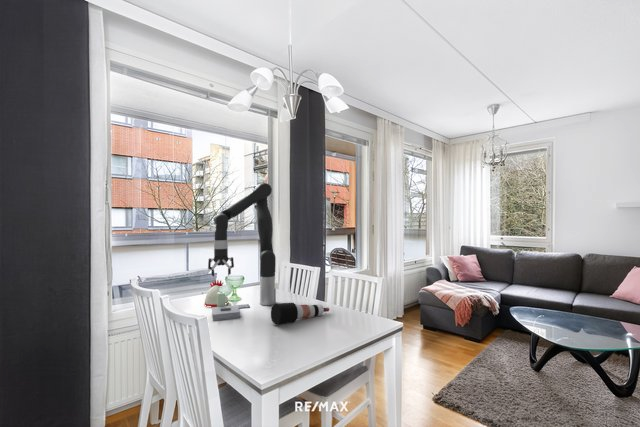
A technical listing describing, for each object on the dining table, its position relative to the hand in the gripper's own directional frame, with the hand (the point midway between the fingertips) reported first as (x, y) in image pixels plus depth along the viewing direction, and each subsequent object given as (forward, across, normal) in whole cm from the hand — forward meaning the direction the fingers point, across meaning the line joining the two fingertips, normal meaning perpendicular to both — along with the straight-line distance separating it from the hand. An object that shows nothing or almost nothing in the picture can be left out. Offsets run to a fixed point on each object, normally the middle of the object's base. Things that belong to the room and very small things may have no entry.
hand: (221, 275), depth 183 cm
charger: (+20, 0, 0) cm, 20 cm away
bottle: (+21, -40, +32) cm, 55 cm away
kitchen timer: (+20, +2, -14) cm, 25 cm away
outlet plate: (+20, -2, +11) cm, 23 cm away
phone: (+21, -10, -2) cm, 23 cm away
